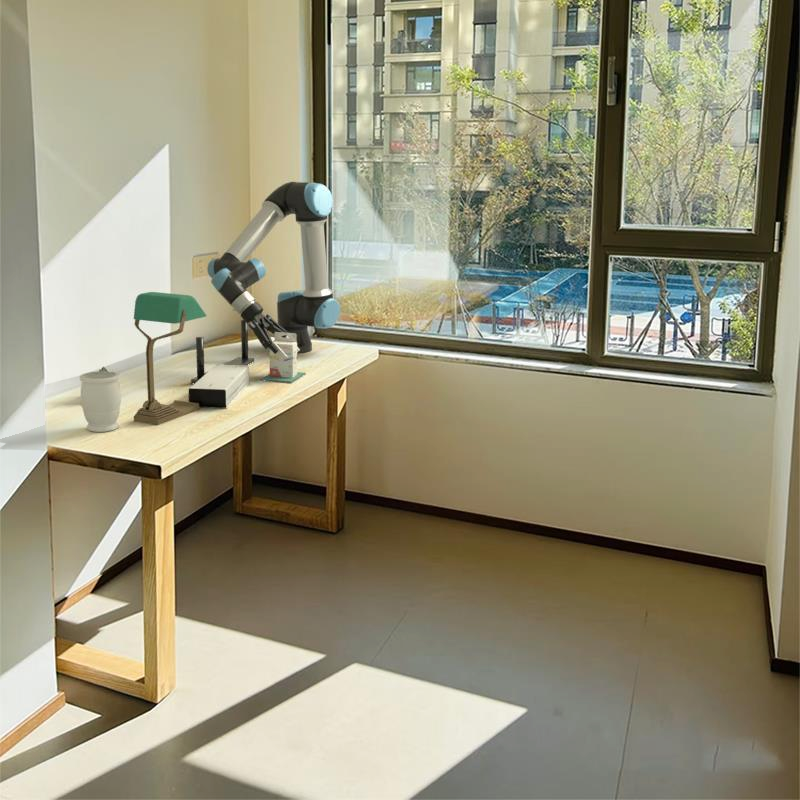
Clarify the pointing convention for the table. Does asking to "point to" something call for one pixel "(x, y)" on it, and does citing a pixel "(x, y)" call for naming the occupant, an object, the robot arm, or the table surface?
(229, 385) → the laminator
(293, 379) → the green mat
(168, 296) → the banker's lamp
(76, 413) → the table surface
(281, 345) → the ink cartridge box
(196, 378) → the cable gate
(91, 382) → the jar
